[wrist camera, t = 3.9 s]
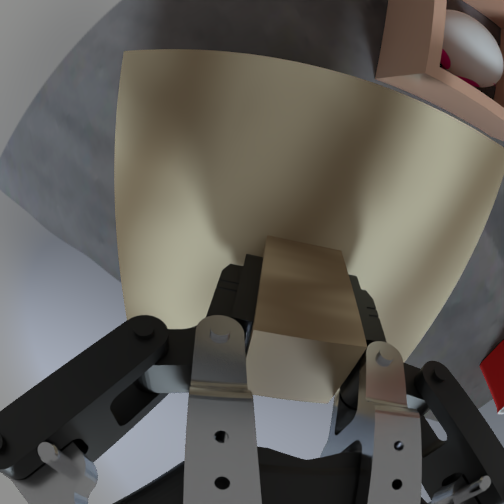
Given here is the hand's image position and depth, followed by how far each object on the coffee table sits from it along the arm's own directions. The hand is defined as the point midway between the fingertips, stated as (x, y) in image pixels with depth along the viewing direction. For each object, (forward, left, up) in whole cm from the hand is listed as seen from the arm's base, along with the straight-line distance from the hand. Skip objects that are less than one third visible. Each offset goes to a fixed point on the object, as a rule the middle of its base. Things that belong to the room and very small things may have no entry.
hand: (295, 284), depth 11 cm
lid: (0, 0, -2) cm, 2 cm away
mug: (-47, +19, -15) cm, 53 cm away
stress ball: (-11, -16, -15) cm, 24 cm away
